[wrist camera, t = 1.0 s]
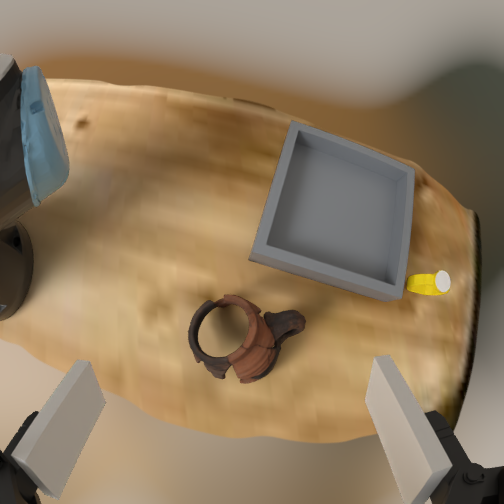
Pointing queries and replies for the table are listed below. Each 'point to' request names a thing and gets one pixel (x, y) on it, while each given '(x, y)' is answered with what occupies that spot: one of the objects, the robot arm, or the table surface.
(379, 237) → the tray
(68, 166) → the robot arm
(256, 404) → the table surface
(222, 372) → the broken clay jug
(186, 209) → the table surface
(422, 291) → the watch
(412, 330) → the table surface
